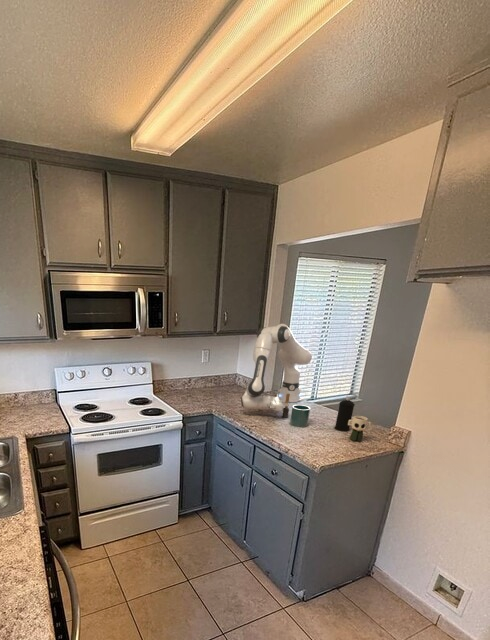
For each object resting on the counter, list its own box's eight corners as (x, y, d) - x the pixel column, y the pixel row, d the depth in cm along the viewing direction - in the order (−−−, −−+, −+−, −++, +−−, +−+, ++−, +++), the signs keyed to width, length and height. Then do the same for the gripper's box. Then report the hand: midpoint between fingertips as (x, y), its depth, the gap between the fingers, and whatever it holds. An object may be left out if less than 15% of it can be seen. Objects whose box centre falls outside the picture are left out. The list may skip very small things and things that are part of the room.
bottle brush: (281, 416, 236) (284, 392, 230) (287, 416, 235) (290, 392, 230) (282, 417, 233) (285, 394, 227) (288, 418, 232) (291, 394, 226)
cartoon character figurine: (345, 440, 197) (350, 418, 192) (344, 436, 203) (348, 414, 198) (367, 443, 193) (372, 420, 188) (365, 438, 199) (370, 416, 194)
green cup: (288, 421, 227) (291, 404, 223) (305, 421, 225) (307, 405, 221) (291, 426, 217) (294, 409, 213) (309, 427, 216) (312, 410, 212)
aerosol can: (352, 430, 211) (359, 398, 204) (341, 432, 209) (347, 399, 202) (342, 426, 219) (348, 394, 211) (331, 427, 216) (337, 395, 209)
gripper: (269, 403, 222) (292, 403, 220) (264, 394, 240) (285, 395, 239) (268, 412, 224) (290, 413, 222) (263, 403, 243) (284, 404, 241)
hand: (288, 404), depth 231 cm, fingers closed on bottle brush, 2 cm apart
